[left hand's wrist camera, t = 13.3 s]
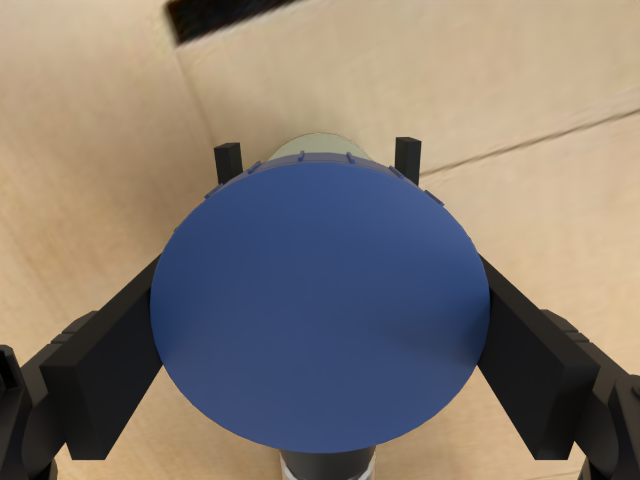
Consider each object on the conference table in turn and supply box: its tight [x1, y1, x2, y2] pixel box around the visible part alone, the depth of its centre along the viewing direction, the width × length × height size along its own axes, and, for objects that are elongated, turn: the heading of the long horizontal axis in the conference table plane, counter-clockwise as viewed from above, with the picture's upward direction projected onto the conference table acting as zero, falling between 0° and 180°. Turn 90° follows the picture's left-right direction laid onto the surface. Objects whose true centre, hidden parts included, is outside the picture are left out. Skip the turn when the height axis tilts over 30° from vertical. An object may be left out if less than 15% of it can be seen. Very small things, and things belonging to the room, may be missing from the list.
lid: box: [150, 150, 490, 453], centre depth 11 cm, size 10×10×2 cm
